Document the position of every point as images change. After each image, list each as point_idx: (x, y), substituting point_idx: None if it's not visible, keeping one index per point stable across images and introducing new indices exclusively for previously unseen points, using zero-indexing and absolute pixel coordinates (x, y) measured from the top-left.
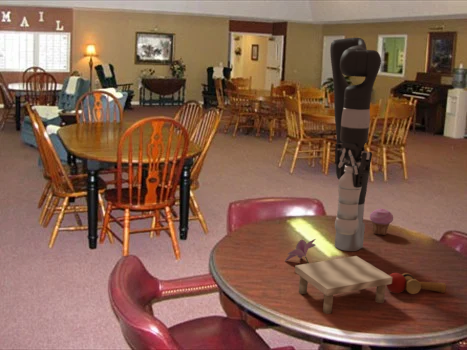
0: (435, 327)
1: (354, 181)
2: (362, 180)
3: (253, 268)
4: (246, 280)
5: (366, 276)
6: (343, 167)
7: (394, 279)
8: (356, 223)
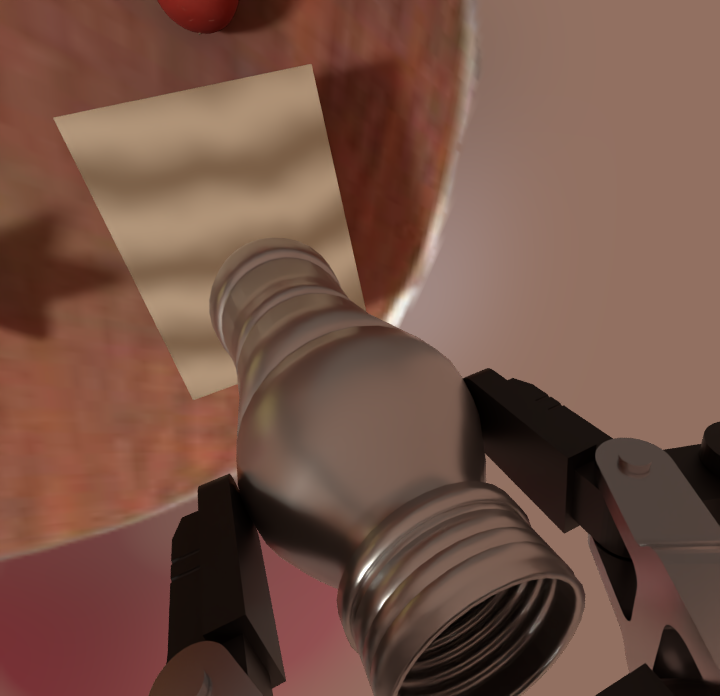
0: (444, 17)
1: (509, 469)
2: (563, 408)
3: (15, 461)
4: (124, 475)
5: (297, 175)
6: (265, 687)
7: (224, 4)
8: (333, 272)
